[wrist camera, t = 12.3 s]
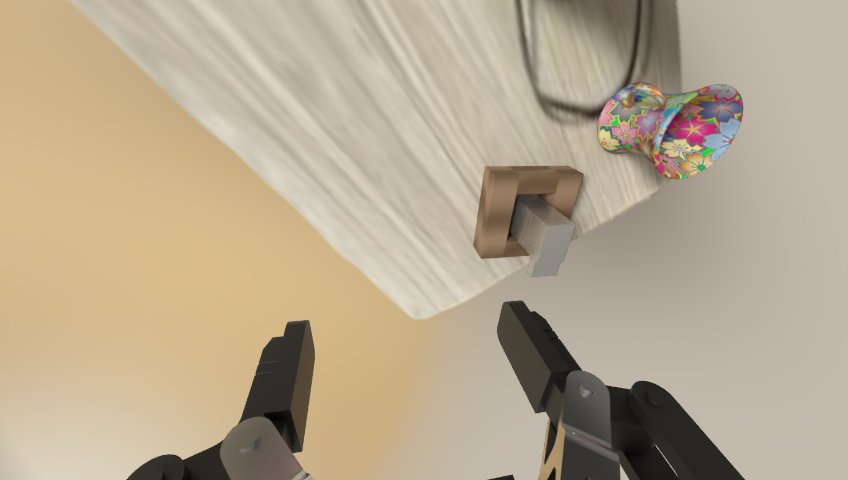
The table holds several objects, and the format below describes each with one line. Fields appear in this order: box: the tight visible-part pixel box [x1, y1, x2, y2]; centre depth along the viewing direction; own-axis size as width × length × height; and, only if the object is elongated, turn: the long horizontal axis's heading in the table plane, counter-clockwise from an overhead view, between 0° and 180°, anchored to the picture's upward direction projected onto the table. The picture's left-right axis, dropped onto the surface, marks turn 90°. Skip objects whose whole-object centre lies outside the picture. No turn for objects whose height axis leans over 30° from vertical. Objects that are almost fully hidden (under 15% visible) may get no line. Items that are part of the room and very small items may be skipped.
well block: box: [473, 166, 584, 259], centre depth 43 cm, size 12×12×4 cm
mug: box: [597, 82, 743, 179], centre depth 35 cm, size 12×9×11 cm
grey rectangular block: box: [509, 194, 576, 277], centre depth 41 cm, size 7×4×10 cm, turn 177°
